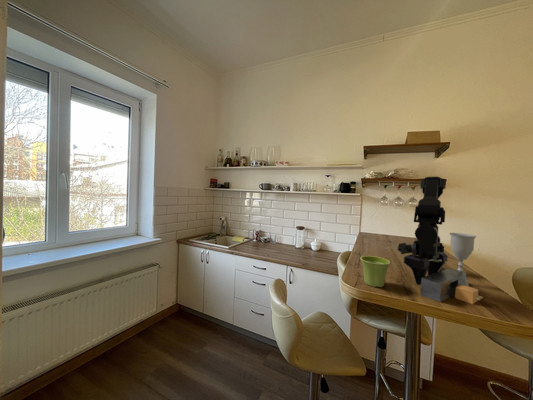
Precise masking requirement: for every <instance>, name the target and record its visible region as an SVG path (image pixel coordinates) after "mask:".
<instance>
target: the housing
mask: <svg viewBox="0 0 533 400" xmlns="http://www.w3.org/2000/svg"><path fill="white" fill-rule="evenodd" d="M466 279H467V272H464V271H463V272H460V271H458V270H457V269H456V270H455V269H453V268H452V269H451V268H446V269H443V270H440V271H439V272H437V273H434V274H431V275H428V274H427V275H425V277H423V278H422V280H421V285H420V296H423V297H424V298H425V297H426V298H427V299H430V300H433V301H436V302H439V303H441V302H443V301H445V300H447V299H449V298H450V295H449V294H450V287H452V288H456V287H457V286H459V285H461V284H462V285H466Z"/></svg>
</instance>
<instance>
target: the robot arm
mask: <svg viewBox="0 0 533 400" xmlns="http://www.w3.org/2000/svg"><path fill="white" fill-rule="evenodd" d="M446 185H447V180H446V178H442V177H441V176H425V177H424V178H422V179H420V185H419V186H420V187H419V188H420V190H422V194H423V198H421V199H419V200H418V202H417V205H415V209H414V215H413V223H418V225H417V227H416V229H415V231H414V236H415V238H416V240H413V243H412V244H411V243H410V244H409V243H408V244H407V243H406V242H402V243H398V246H397V252H399V253H400V254H401V255H405V254H407V255H405V256H403V263H404V264H405V265H406V266H407V267H409V268H410V269H411V271H412V274H413V277H414V281H415V284H416V285H417V286H421V280H422V278H423V277H425V276H428V275H431V274H434V273H437V272H439V271H441V269H442V268H443V267H444V265H445V264H446V262H448V255H447V254H446V253H445V246H444V245H443V242H441V237H440V236H439V225H443V223H445V222H446V210H445V208H444V207H441V206H442V205H441V204H442V203H441V201H440V200H439V198H441V196H442V195H443V193H444V190H446Z"/></svg>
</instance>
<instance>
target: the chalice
mask: <svg viewBox="0 0 533 400" xmlns="http://www.w3.org/2000/svg"><path fill="white" fill-rule="evenodd" d="M449 235H450V248H451V252H452V253H453V256H454V257H455V258H456V259H458V263H457V266H458V268H457V269H456V271H460V272H464V269H463V267H464V261H465V260H466V261H467V260H468V258H469V257H470V256H471V254H473V252H474V250H475V249H474V248H475V239H476V237H477V235H473V234H468V233H462V232H461V233H460V232H449ZM465 286H468V287H470V284H469V281H468V279H467V278H466V285H465Z"/></svg>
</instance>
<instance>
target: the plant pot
mask: <svg viewBox="0 0 533 400" xmlns="http://www.w3.org/2000/svg"><path fill="white" fill-rule="evenodd" d="M360 260H361V265H362V270H363V280H364V283H365V284H366V285H368V286H370V287H374V288H375V287H379V288H383V287H384V286H385V283H386V280H385V279H386V278H387V271H388V268H389V266H390V264H391V261H390V260H388V259H386V258H383V257H379V256H374V255H372V256H371V255H363V256H360Z"/></svg>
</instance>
